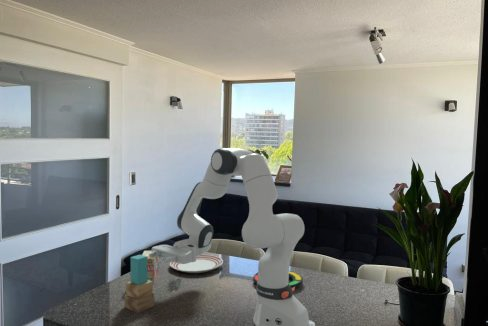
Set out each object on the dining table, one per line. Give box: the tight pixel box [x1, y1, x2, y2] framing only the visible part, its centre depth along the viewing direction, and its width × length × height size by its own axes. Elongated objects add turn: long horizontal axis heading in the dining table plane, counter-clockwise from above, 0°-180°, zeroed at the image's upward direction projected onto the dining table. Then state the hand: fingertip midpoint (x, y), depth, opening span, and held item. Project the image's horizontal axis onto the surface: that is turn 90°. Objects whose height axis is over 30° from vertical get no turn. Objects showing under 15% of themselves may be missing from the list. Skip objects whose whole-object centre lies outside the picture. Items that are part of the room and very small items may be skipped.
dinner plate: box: [169, 253, 224, 274], centre depth 195 cm, size 27×27×3 cm
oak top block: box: [125, 280, 153, 300], centre depth 147 cm, size 7×7×5 cm
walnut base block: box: [123, 292, 155, 314], centre depth 148 cm, size 8×8×5 cm
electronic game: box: [252, 270, 304, 289], centre depth 174 cm, size 23×23×5 cm
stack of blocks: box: [142, 250, 160, 285], centre depth 181 cm, size 21×6×12 cm, turn 6°
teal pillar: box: [129, 254, 148, 285], centre depth 147 cm, size 4×4×10 cm
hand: (157, 258), depth 154 cm, fingers open, 8 cm apart
